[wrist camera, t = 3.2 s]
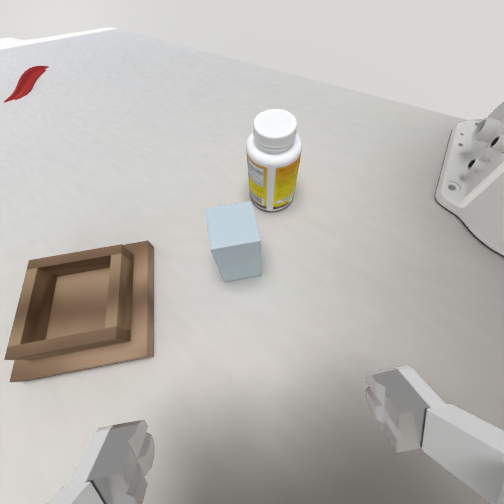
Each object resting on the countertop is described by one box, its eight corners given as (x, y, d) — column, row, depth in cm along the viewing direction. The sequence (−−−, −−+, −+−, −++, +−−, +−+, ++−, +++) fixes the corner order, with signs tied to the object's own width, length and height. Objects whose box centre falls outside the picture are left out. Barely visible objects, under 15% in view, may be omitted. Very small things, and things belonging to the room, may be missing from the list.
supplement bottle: (296, 182, 32) (310, 106, 23) (289, 216, 29) (302, 147, 20) (254, 175, 32) (252, 99, 23) (245, 209, 30) (237, 139, 21)
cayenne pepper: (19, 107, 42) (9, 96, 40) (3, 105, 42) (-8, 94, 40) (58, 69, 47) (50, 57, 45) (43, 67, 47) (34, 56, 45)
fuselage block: (220, 249, 28) (205, 208, 21) (254, 243, 28) (251, 200, 21) (224, 282, 26) (210, 249, 19) (260, 275, 26) (260, 240, 19)
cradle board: (48, 264, 28) (16, 249, 24) (153, 246, 28) (137, 229, 25) (24, 381, 23) (-21, 383, 19) (153, 356, 23) (133, 354, 19)
